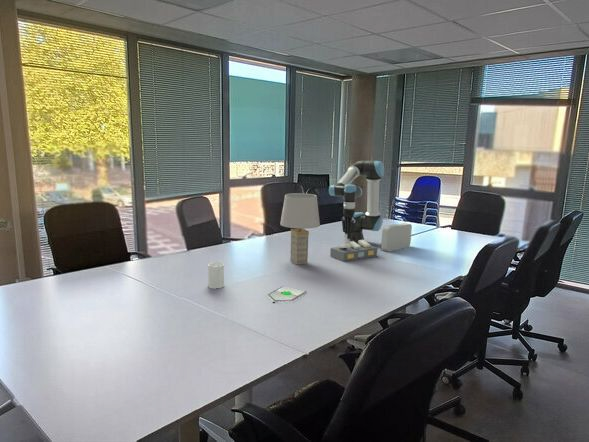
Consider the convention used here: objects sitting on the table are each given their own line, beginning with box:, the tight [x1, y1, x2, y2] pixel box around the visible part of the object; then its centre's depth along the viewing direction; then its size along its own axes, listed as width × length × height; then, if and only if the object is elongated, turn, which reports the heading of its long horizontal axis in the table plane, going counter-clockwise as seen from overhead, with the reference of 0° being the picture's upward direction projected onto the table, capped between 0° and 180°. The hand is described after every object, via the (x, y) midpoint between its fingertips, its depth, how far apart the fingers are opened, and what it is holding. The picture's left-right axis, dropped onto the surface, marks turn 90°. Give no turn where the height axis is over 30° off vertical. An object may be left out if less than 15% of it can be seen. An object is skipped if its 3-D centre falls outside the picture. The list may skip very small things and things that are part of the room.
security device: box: [266, 285, 308, 302], centre depth 205 cm, size 17×22×2 cm
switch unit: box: [329, 243, 378, 263], centre depth 283 cm, size 15×30×7 cm, turn 123°
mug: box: [207, 261, 225, 290], centre depth 218 cm, size 12×8×12 cm
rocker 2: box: [347, 241, 361, 249], centre depth 282 cm, size 8×4×2 cm, turn 33°
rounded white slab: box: [380, 222, 412, 253], centre depth 308 cm, size 29×8×18 cm, turn 129°
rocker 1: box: [337, 244, 351, 248], centre depth 278 cm, size 8×4×2 cm, turn 33°
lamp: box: [279, 192, 321, 265], centre depth 262 cm, size 25×25×44 cm
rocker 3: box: [357, 239, 371, 248], centre depth 287 cm, size 8×4×2 cm, turn 33°
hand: (347, 243), depth 274 cm, fingers closed
